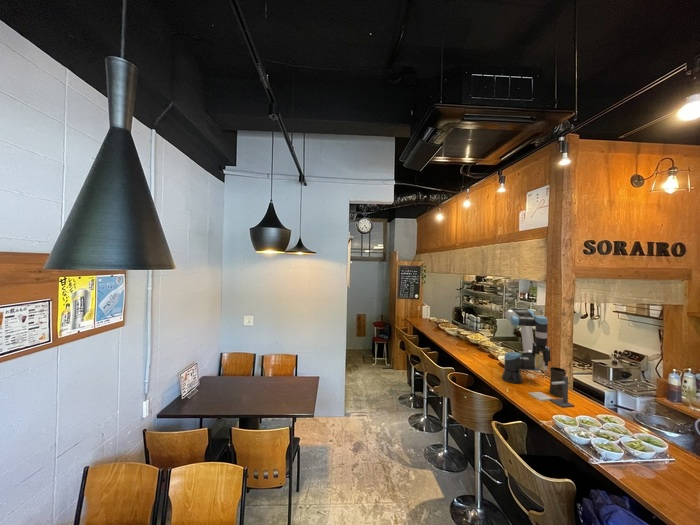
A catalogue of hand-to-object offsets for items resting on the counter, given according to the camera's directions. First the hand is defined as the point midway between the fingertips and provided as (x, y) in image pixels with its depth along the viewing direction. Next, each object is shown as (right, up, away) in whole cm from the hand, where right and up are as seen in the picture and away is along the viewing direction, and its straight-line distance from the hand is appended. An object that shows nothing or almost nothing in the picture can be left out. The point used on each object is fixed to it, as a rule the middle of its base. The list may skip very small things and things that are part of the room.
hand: (540, 368), depth 213 cm
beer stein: (+17, -22, +7) cm, 29 cm away
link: (0, -1, 0) cm, 1 cm away
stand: (+7, -22, -10) cm, 25 cm away
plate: (0, -22, 0) cm, 22 cm away
